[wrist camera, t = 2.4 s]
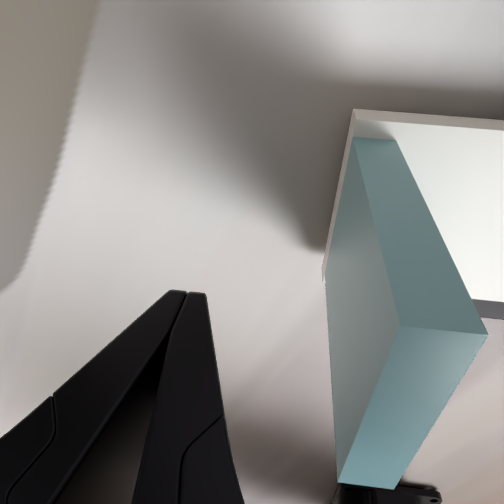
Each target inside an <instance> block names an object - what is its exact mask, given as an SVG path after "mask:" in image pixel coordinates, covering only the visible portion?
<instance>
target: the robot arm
mask: <svg viewBox="0 0 504 504" xmlns="http://www.w3.org/2000/svg"><path fill="white" fill-rule="evenodd" d="M441 502H442V498H441V494H440V492H438V491H432V490H424V489H417V488H409V487H401V486H396V487H395V488H394V490H393V489H386V488H378V487H370V486H363V485H355V484H347V483H339V486H338V488H337V490H336V493H335V495H334V498H333V500H332V503H331V504H440V503H441ZM0 504H245V503H244V499H243V496H242V493H241V489H240V485H239V482H238V478H237V474H236V470H235V467H234V463H233V458H232V453H231V448H230V443H229V437H228V431H227V425H226V419H225V413H224V407H223V400H222V394H221V387H220V381H219V374H218V368H217V361H216V355H215V348H214V342H213V335H212V329H211V323H210V316H209V310H208V303H207V297H206V294H205V293H200V292H189V293H187V292H186V291H181V290H169V291H168V292H167V293H165V294H164V295H163V296H162V297H161V298H160V299H159V300H158V301H156V302H155V303H154V304H153V305H152V306H151V307H150V308H149V309H147V310H146V311H145V312H144V313H143V314H142V315H141V316H140V317H138V318H137V319H136V320H135V321H134V322H133V323H132V324H131V325H129V326H128V327H127V328H126V329H125V330H124V331H123V332H122V333H120V334H119V335H118V336H117V337H116V338H115V339H114V340H113V341H111V342H110V343H109V344H108V345H107V346H106V347H105V348H104V349H102V350H101V351H100V352H99V353H98V354H97V355H96V356H95V357H93V358H92V359H91V360H90V361H89V362H88V363H87V364H86V365H84V366H83V367H82V368H81V369H80V370H79V371H78V372H77V373H75V374H74V375H73V376H72V377H71V378H70V379H69V380H68V381H66V382H65V383H64V384H63V385H62V386H61V387H60V388H59V389H57V390H56V391H55V392H54V393H53V396H49V397H48V398H47V399H46V400H45V401H44V402H43V403H41V404H40V405H39V406H38V407H37V408H36V409H35V410H34V411H32V412H31V413H30V414H29V415H28V416H26V417H25V418H24V419H23V420H22V421H21V422H19V423H18V424H17V425H16V426H15V427H13V428H12V429H11V430H10V431H9V432H7V433H6V434H5V435H4V436H2V437H1V438H0Z"/></svg>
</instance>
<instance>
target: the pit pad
mask: <svg viewBox="0 0 504 504" xmlns="http://www.w3.org/2000/svg"><path fill="white" fill-rule="evenodd" d="M472 301H473V303H474V305H475V307H476V309H477V312H478V314H479V316H480V317H482V318H492V319H502V320H504V302H498V301H489V300H479V299H472Z"/></svg>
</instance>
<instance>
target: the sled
mask: <svg viewBox="0 0 504 504" xmlns="http://www.w3.org/2000/svg"><path fill="white" fill-rule="evenodd" d="M322 282H323V284H325V286H326V302H327V319H328V335H329V351H330V367H331V384H332V400H333V416H334V433H335V449H336V465H337V482H340V483H347V484H355V485H363V486H370V487H378V488H386V489H393V490H394V488H395V487H396V485H397V484H398V482H399V480H400V479H401V477H402V475H403V474H404V472H405V471H406V469H407V467H408V466H409V464H410V462H411V461H412V459H413V458H414V456H415V454H416V453H417V451H418V449H419V448H420V446H421V444H422V443H423V441H424V440H425V438H426V436H427V435H428V433H429V431H430V430H431V428H432V427H433V425H434V423H435V422H436V420H437V418H438V417H439V415H440V414H441V412H442V410H443V409H444V407H445V405H446V404H447V402H448V401H449V399H450V397H451V396H452V394H453V392H454V391H455V389H456V388H457V386H458V384H459V383H460V381H461V379H462V378H463V376H464V375H465V373H466V371H467V370H468V368H469V366H470V365H471V363H472V362H473V360H474V358H475V357H476V355H477V353H478V352H479V350H480V349H481V347H482V345H483V344H484V342H485V340H486V339H487V337H488V336H489V335H488V333H487V331H486V328H485V326H484V324H483V322H482V320H481V318H480V316H479V314H478V312H477V309H476V307H475V305H474V303H473V301H472V299H479V300H489V301H498V302H504V120H495V119H482V118H469V117H456V116H443V115H430V114H417V113H404V112H391V111H379V110H366V109H353V111H352V116H351V121H350V126H349V132H348V137H347V142H346V147H345V152H344V157H343V162H342V167H341V172H340V177H339V182H338V188H337V193H336V198H335V203H334V208H333V213H332V218H331V223H330V228H329V233H328V238H327V244H326V249H325V254H324V259H323V264H322Z"/></svg>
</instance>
